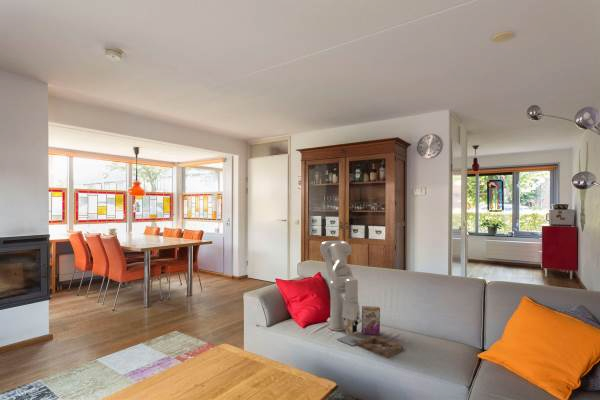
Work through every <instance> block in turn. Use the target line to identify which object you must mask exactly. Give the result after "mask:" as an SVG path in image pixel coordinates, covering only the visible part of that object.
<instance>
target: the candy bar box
mask: <svg viewBox="0 0 600 400" xmlns="http://www.w3.org/2000/svg"><path fill="white" fill-rule="evenodd" d="M380 327H381V308H380V307H379V306H370V305H362V306H361V327H360V328H361V334H364V335H376V334H380V331H381V330H380Z"/></svg>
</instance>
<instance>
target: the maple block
mask: <svg viewBox="0 0 600 400" xmlns="http://www.w3.org/2000/svg"><path fill="white" fill-rule="evenodd" d="M345 325H346V330H345V334H346V335H353V336H355V335H356V334H358V333H357V331H358V330H357V331H356V332H353V321H352V320H349V319H346V323H345Z"/></svg>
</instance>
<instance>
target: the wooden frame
mask: <svg viewBox="0 0 600 400" xmlns="http://www.w3.org/2000/svg"><path fill="white" fill-rule="evenodd" d="M373 342H374V343H375V342H376V343H375V344H373ZM371 343H372V344H371ZM376 344H378V345H376ZM380 344H381V345H380ZM379 345H380V346H379ZM356 346H357V347H360V348H362V349H364V350H367V351H369V352H371V353H375V354H378V355H380V356H382V357H384V358H389V357H390V356H393V355H395V354H397V353H399V352H401V351H404V345H402V344H399V343H396V342H394V341H391V340H388V339H385V338H382V337H380V336H376V335H372V336H369V337H367V338H364V340H361V341H359V342H357V345H356ZM381 346H383V347H386V348H383V347H381ZM388 347H389V348H388Z"/></svg>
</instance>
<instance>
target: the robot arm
mask: <svg viewBox="0 0 600 400" xmlns="http://www.w3.org/2000/svg"><path fill="white" fill-rule="evenodd" d="M319 250H320V253H321V257H322V258H323V260H324V263H325V267H326V271H327V274H328V276H329V278H330V280H331V281H329V284H328V285H329V286H328V287H329V296H330V315H329V316H330V317H328V318H327V319H326V322H328V323H329V324H327V328H328V329H329V330H332V331H335V332H336V331H341V332H342V331H346V319H349V320H352V321H353V332H356V331H358V325H359V324H360V323H362V317H361V316H360V315H361V312H360V304H359V298H358V297H359V292H358V291H359V282H358V279H357V278H355V277H354V275H353V272H352V269H351V267H350V266H349V265H348V260H347V257H346V256H350V255H351V253H352V247H351V245H350V243H349V242H347V241H345V240H326V241H322V242H321V243H320V247H319ZM342 295H344V296H342Z"/></svg>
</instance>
